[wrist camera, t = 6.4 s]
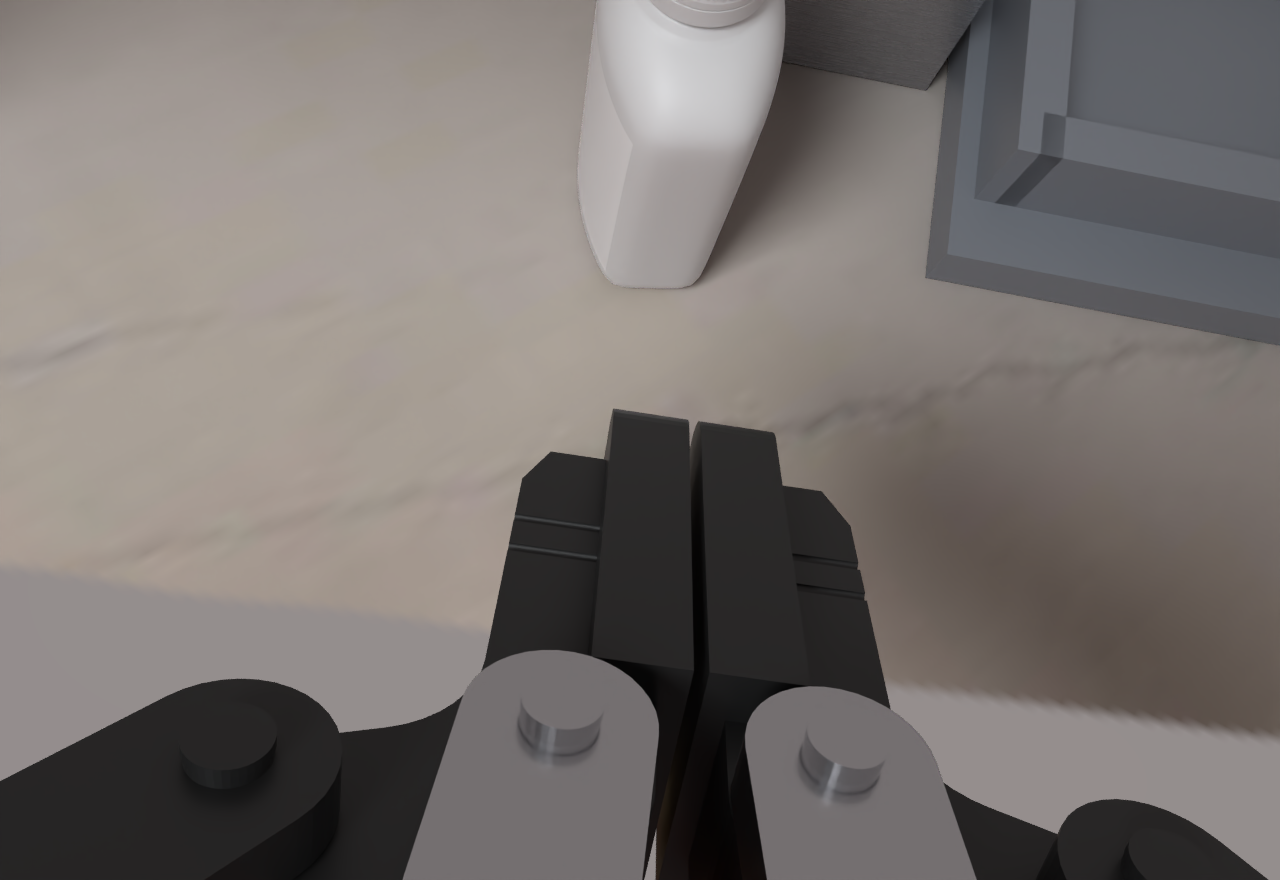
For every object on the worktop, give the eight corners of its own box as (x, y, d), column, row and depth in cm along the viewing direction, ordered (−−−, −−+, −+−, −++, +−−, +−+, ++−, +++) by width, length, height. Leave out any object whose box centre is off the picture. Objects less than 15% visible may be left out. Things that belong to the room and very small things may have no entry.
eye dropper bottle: (510, 236, 28) (510, -105, 17) (622, 53, 30) (694, -381, 18) (674, 324, 28) (789, 44, 16) (778, 136, 29) (952, -245, 18)
